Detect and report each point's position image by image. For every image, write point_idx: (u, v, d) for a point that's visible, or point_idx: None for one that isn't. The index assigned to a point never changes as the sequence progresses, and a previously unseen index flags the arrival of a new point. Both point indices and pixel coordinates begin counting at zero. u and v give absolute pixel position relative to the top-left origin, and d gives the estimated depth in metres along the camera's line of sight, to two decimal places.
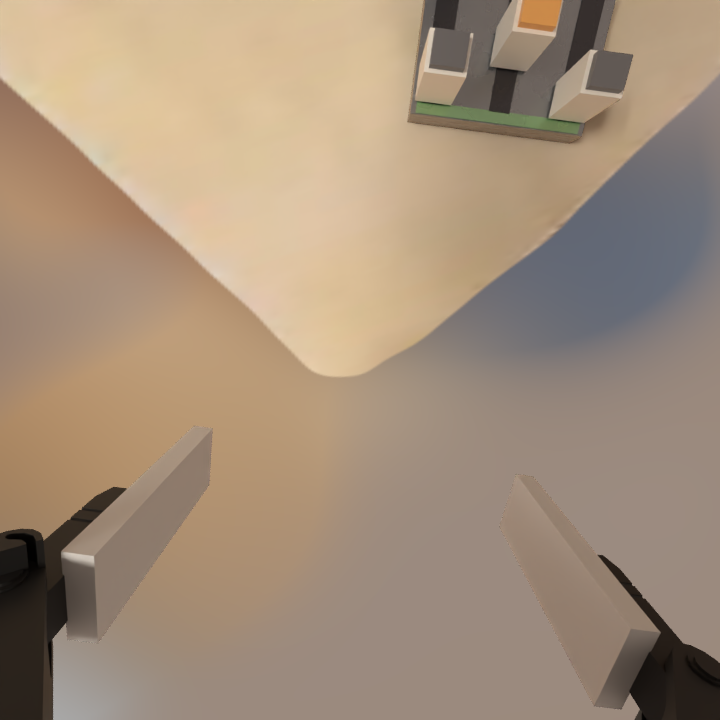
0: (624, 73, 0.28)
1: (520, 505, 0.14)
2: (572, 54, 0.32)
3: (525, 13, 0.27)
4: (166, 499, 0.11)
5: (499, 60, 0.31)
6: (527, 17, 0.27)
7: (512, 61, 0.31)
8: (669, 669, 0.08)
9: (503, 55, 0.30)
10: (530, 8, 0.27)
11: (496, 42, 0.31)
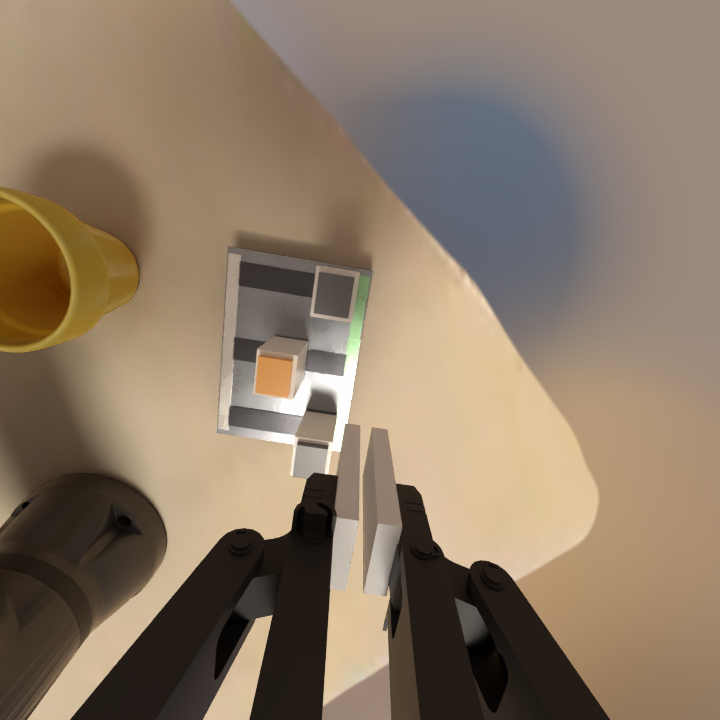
0: (337, 279, 0.23)
1: (369, 452, 0.16)
2: (292, 291, 0.29)
3: (280, 393, 0.25)
4: None
5: (302, 377, 0.30)
6: (283, 391, 0.25)
7: (303, 366, 0.29)
8: (402, 564, 0.10)
9: (300, 379, 0.29)
10: (276, 389, 0.25)
11: None
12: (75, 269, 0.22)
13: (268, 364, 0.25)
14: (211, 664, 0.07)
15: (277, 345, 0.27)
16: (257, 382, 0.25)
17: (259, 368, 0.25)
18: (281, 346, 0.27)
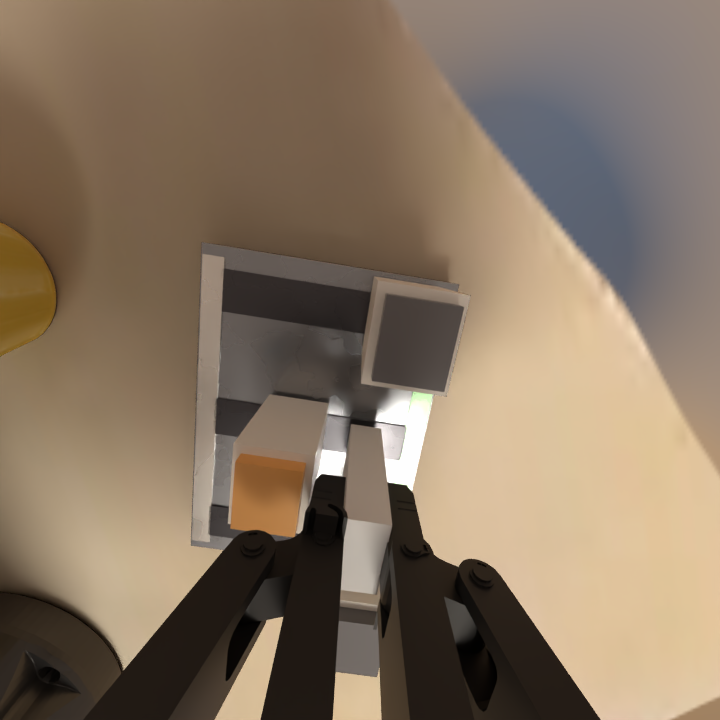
0: (426, 311, 0.11)
1: None
2: (316, 321, 0.17)
3: (281, 529, 0.13)
4: None
5: (318, 466, 0.17)
6: (287, 526, 0.13)
7: (321, 448, 0.17)
8: (392, 563, 0.10)
9: (316, 475, 0.16)
10: (271, 521, 0.13)
11: None
12: None
13: (255, 477, 0.12)
14: (223, 665, 0.07)
15: (274, 424, 0.14)
16: (234, 510, 0.13)
17: (237, 484, 0.12)
18: (282, 426, 0.14)
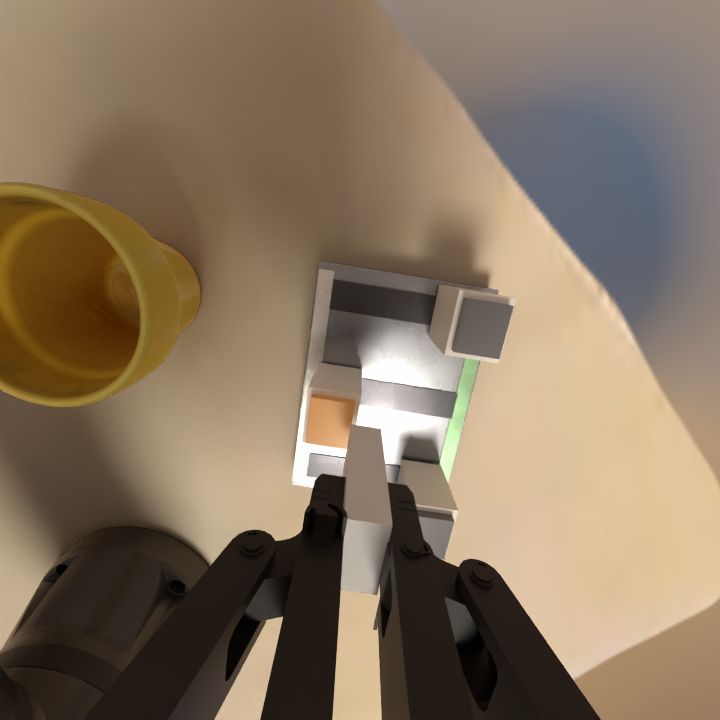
0: (490, 308, 0.17)
1: None
2: (396, 316, 0.23)
3: (338, 444, 0.19)
4: None
5: None
6: (342, 441, 0.19)
7: None
8: (392, 563, 0.10)
9: None
10: (332, 438, 0.19)
11: None
12: (147, 299, 0.16)
13: (324, 407, 0.19)
14: (222, 666, 0.07)
15: (329, 378, 0.21)
16: (308, 430, 0.19)
17: (312, 412, 0.19)
18: (335, 380, 0.21)
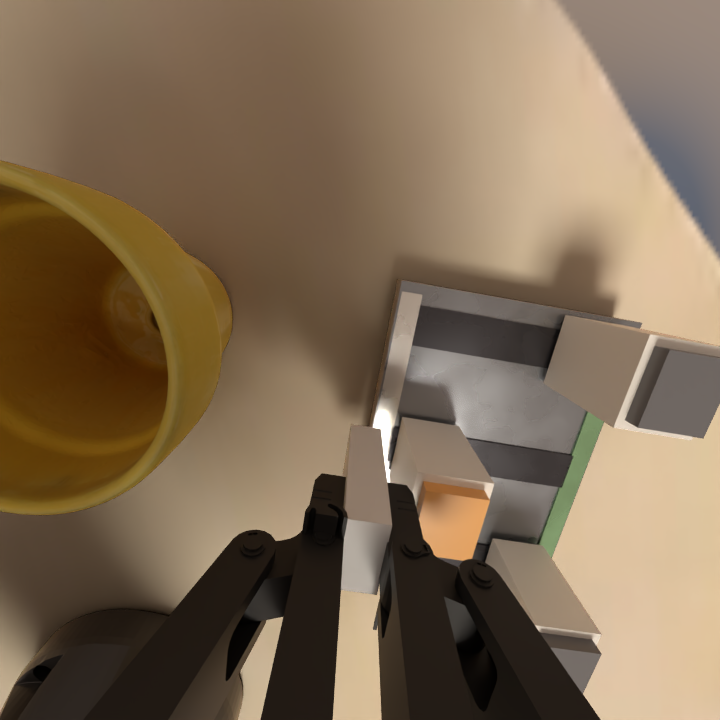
0: (703, 365, 0.11)
1: None
2: (501, 356, 0.17)
3: (459, 554, 0.13)
4: None
5: None
6: (465, 551, 0.13)
7: None
8: (392, 563, 0.10)
9: None
10: (451, 546, 0.13)
11: None
12: (181, 352, 0.10)
13: (443, 505, 0.13)
14: (223, 665, 0.07)
15: (433, 449, 0.15)
16: None
17: (425, 511, 0.13)
18: (441, 452, 0.15)
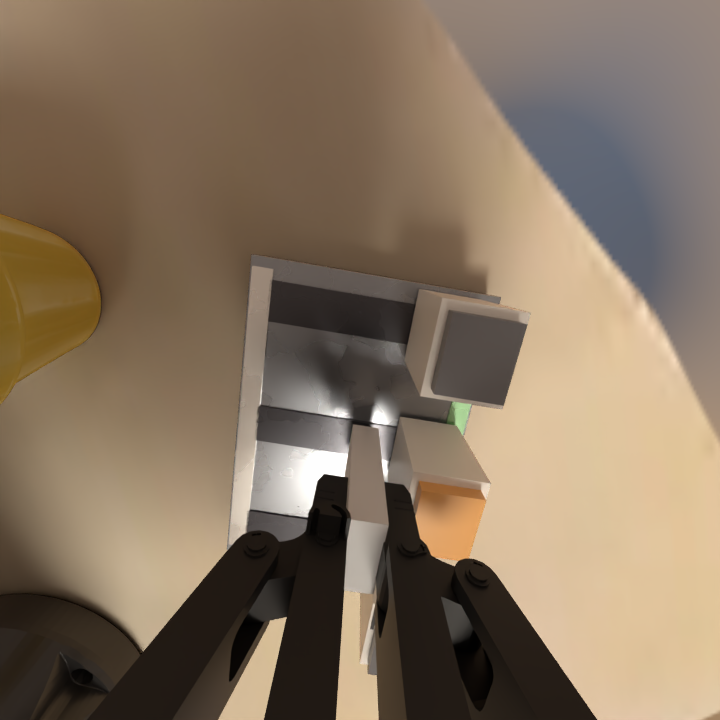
0: (491, 328, 0.11)
1: None
2: (360, 332, 0.17)
3: (455, 554, 0.13)
4: None
5: None
6: (462, 551, 0.13)
7: None
8: (388, 563, 0.10)
9: None
10: (447, 546, 0.13)
11: None
12: None
13: (439, 504, 0.13)
14: (226, 666, 0.07)
15: (430, 449, 0.15)
16: None
17: (420, 511, 0.13)
18: (438, 452, 0.15)
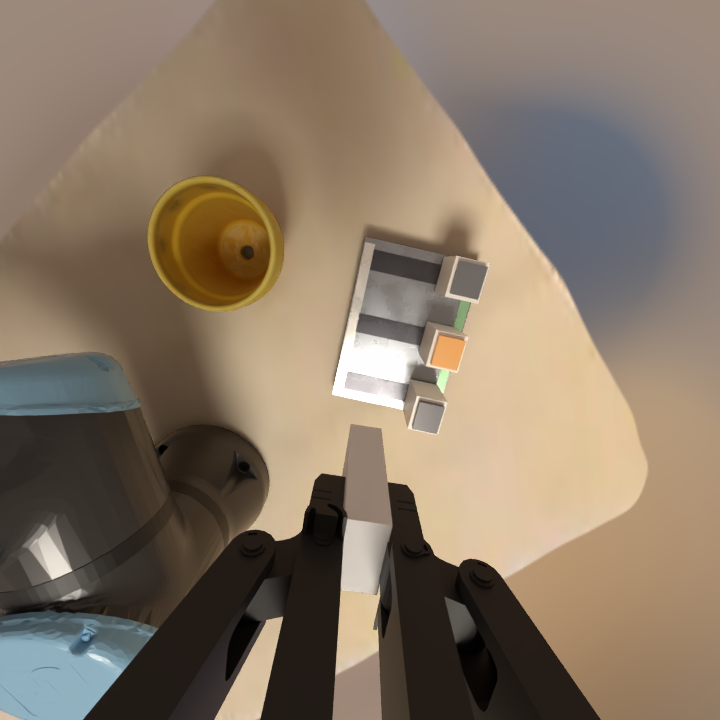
0: (474, 267, 0.29)
1: None
2: (413, 277, 0.35)
3: (451, 366, 0.31)
4: None
5: None
6: (454, 365, 0.31)
7: None
8: (392, 563, 0.10)
9: None
10: (448, 362, 0.31)
11: None
12: (276, 247, 0.27)
13: (446, 342, 0.31)
14: (222, 665, 0.07)
15: (442, 328, 0.33)
16: (434, 356, 0.31)
17: (438, 345, 0.31)
18: (446, 329, 0.33)
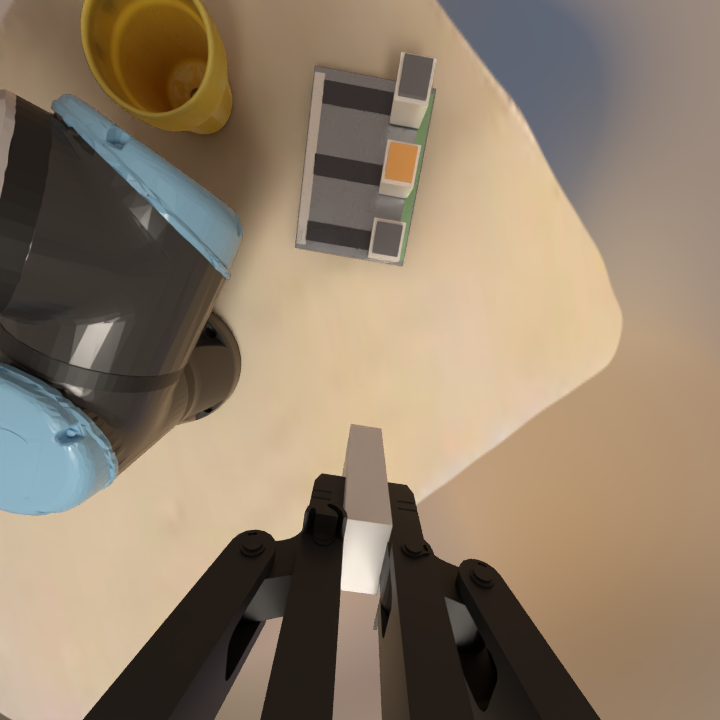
0: (419, 60, 0.28)
1: None
2: (367, 108, 0.34)
3: (406, 177, 0.31)
4: None
5: None
6: (409, 175, 0.31)
7: None
8: (392, 563, 0.10)
9: None
10: (402, 173, 0.31)
11: (394, 194, 0.35)
12: (213, 39, 0.27)
13: (398, 149, 0.30)
14: (223, 666, 0.07)
15: None
16: (388, 166, 0.30)
17: (390, 153, 0.30)
18: None
